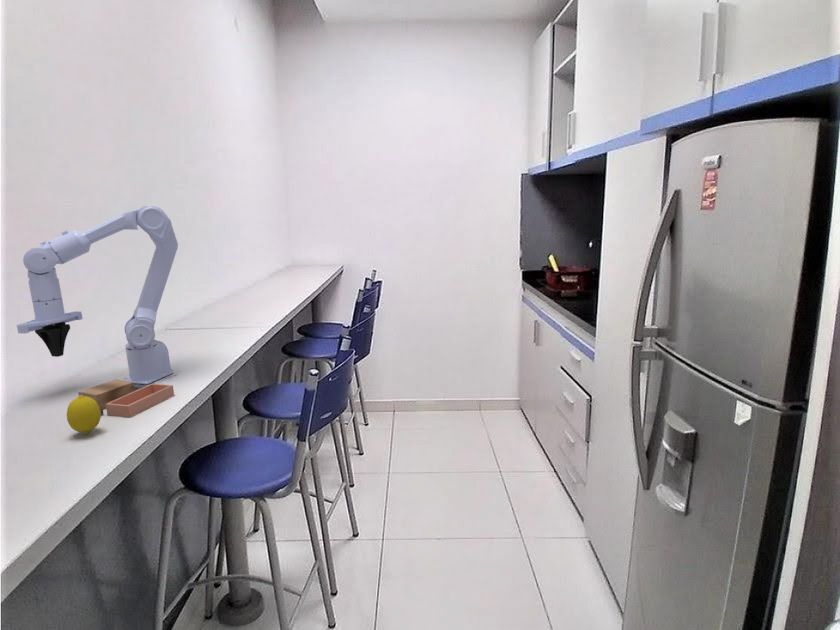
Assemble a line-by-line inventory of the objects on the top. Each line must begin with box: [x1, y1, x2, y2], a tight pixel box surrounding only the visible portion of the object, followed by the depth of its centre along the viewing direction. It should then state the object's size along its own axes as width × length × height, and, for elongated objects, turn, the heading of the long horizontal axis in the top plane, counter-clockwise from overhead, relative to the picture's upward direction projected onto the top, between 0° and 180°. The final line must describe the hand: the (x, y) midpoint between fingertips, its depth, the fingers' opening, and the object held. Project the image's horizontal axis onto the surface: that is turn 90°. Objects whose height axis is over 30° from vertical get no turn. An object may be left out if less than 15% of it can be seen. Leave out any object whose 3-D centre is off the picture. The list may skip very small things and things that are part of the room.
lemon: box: [66, 395, 101, 435], centre depth 102 cm, size 6×6×8 cm
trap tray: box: [105, 383, 175, 418], centre depth 117 cm, size 13×6×2 cm, turn 164°
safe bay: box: [100, 384, 146, 416], centre depth 120 cm, size 16×8×1 cm, turn 164°
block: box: [77, 378, 135, 411], centre depth 119 cm, size 9×6×4 cm, turn 155°
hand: (57, 355), depth 124 cm, fingers closed
